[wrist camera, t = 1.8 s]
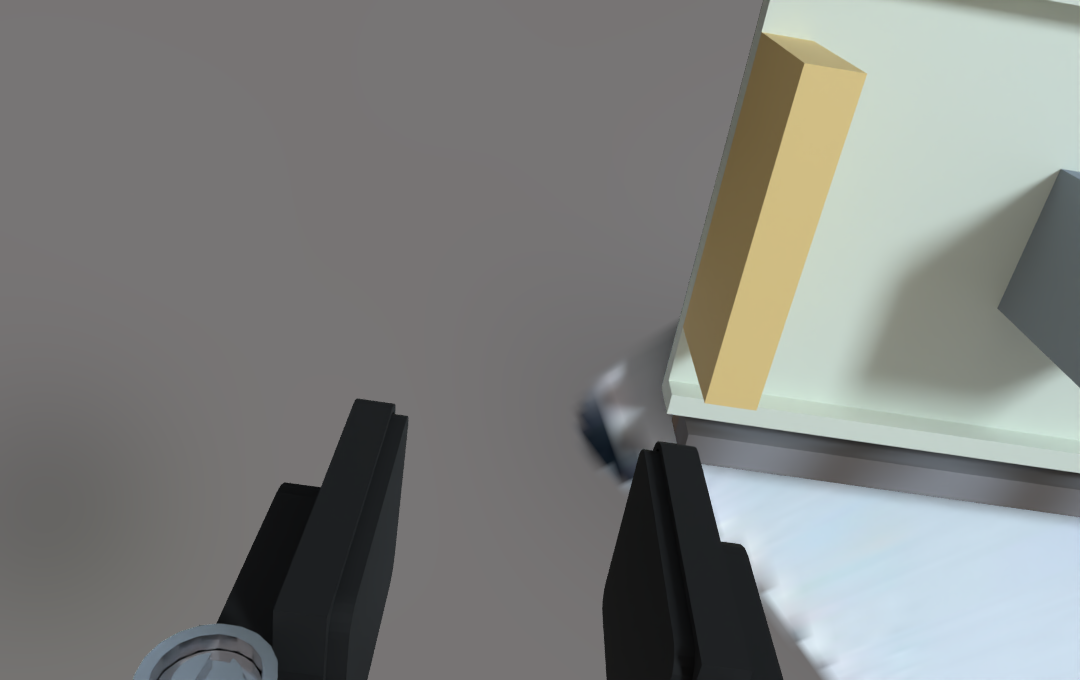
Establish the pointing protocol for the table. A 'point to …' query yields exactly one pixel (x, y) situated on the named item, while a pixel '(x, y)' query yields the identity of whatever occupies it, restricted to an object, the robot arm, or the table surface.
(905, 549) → the table surface
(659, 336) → the table surface
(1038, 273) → the slate block
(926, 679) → the table surface
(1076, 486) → the guide base
